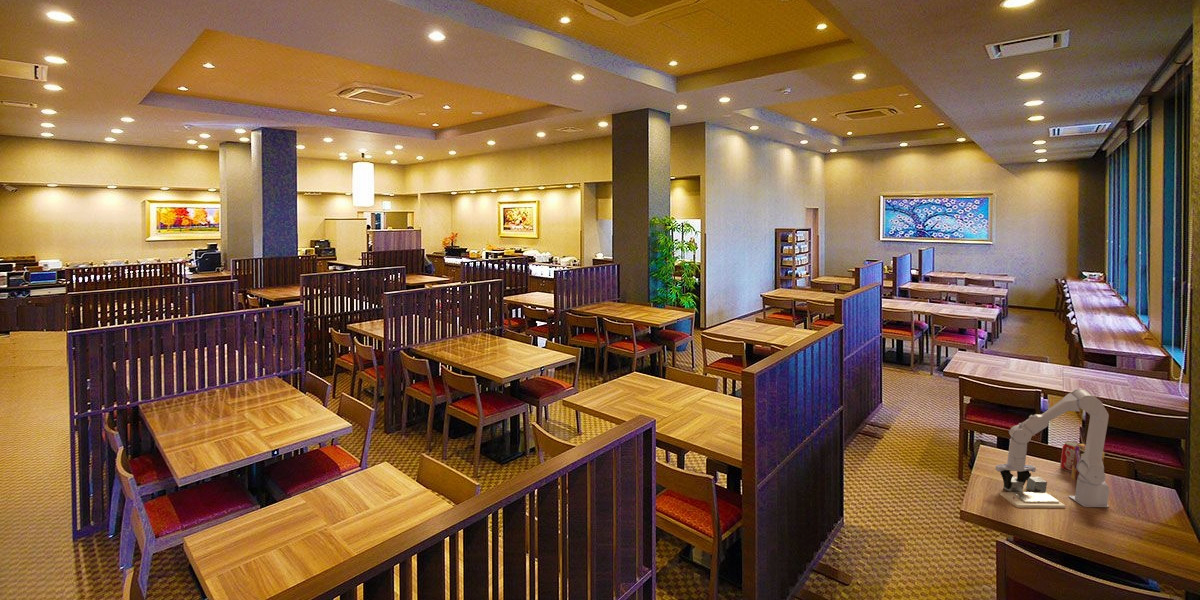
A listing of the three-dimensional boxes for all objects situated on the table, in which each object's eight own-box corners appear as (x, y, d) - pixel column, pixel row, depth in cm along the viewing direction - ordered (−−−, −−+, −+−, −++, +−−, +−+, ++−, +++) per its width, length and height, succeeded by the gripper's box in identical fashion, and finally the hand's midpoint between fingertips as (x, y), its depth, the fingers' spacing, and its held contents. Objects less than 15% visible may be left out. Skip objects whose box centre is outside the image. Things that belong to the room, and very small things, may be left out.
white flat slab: (1045, 493, 232) (1045, 492, 232) (1059, 502, 225) (1059, 501, 225) (1012, 493, 232) (1012, 491, 232) (1024, 502, 225) (1025, 501, 225)
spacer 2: (1037, 488, 239) (1038, 476, 238) (1045, 493, 234) (1047, 481, 234) (1026, 488, 239) (1027, 476, 238) (1034, 493, 235) (1035, 481, 234)
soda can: (1084, 474, 251) (1088, 447, 249) (1065, 472, 252) (1069, 446, 250) (1074, 467, 258) (1078, 441, 256) (1056, 465, 259) (1059, 439, 257)
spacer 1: (1014, 488, 239) (1016, 476, 238) (1022, 493, 234) (1023, 482, 233) (1003, 488, 239) (1004, 476, 238) (1010, 493, 234) (1012, 482, 233)
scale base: (1045, 495, 233) (1046, 491, 233) (1065, 507, 223) (1065, 504, 223) (999, 494, 234) (1000, 491, 233) (1017, 507, 224) (1017, 504, 223)
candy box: (1100, 487, 239) (1105, 452, 237) (1091, 488, 238) (1097, 453, 236) (1078, 477, 248) (1083, 443, 245) (1070, 478, 247) (1075, 444, 244)
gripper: (1028, 451, 238) (1024, 483, 240) (992, 451, 238) (988, 482, 240) (1041, 459, 231) (1036, 491, 233) (1003, 459, 231) (999, 491, 233)
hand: (1013, 487), depth 236 cm, fingers closed on spacer 1, 4 cm apart
